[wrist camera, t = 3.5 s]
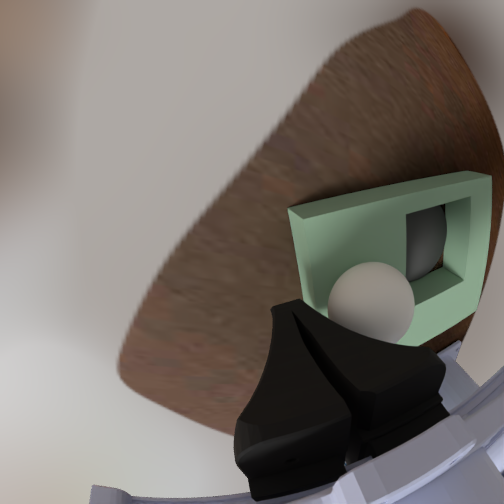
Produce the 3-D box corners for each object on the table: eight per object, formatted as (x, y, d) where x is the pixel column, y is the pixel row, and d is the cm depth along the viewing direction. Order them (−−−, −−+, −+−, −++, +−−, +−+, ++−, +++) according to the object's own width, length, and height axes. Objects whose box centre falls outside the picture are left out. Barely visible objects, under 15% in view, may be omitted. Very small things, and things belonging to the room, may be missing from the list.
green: (458, 297, 18) (476, 310, 16) (312, 362, 18) (324, 387, 15) (467, 170, 14) (491, 175, 12) (287, 208, 14) (303, 219, 11)
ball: (383, 306, 14) (424, 348, 10) (318, 330, 13) (349, 383, 10) (383, 239, 12) (437, 272, 8) (310, 262, 12) (349, 308, 8)
